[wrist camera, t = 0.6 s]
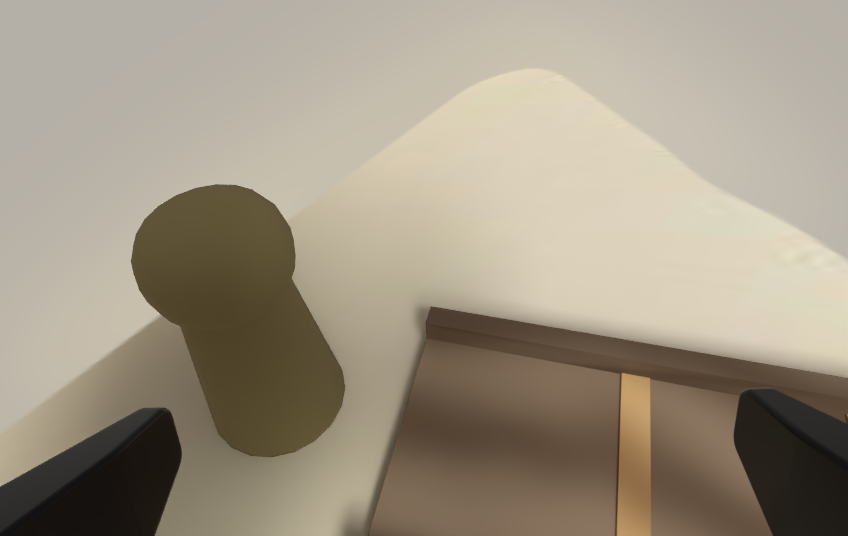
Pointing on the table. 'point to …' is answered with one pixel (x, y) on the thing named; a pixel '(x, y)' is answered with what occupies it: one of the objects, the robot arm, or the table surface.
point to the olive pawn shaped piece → (240, 316)
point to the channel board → (576, 435)
